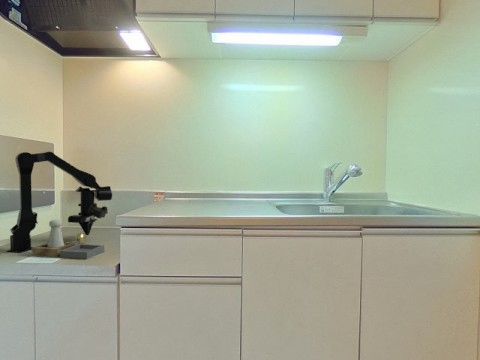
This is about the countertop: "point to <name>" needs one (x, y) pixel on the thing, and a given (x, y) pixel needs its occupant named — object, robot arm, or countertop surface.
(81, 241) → the key
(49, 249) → the socket block
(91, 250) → the tray
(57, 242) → the salt shaker
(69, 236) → the countertop surface
